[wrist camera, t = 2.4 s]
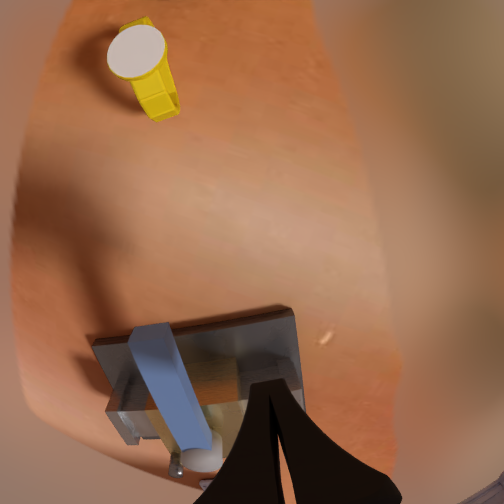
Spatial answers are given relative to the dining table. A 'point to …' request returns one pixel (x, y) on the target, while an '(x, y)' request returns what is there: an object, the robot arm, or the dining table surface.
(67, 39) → the dining table surface
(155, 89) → the watch
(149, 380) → the lever
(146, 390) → the valve
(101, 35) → the dining table surface
